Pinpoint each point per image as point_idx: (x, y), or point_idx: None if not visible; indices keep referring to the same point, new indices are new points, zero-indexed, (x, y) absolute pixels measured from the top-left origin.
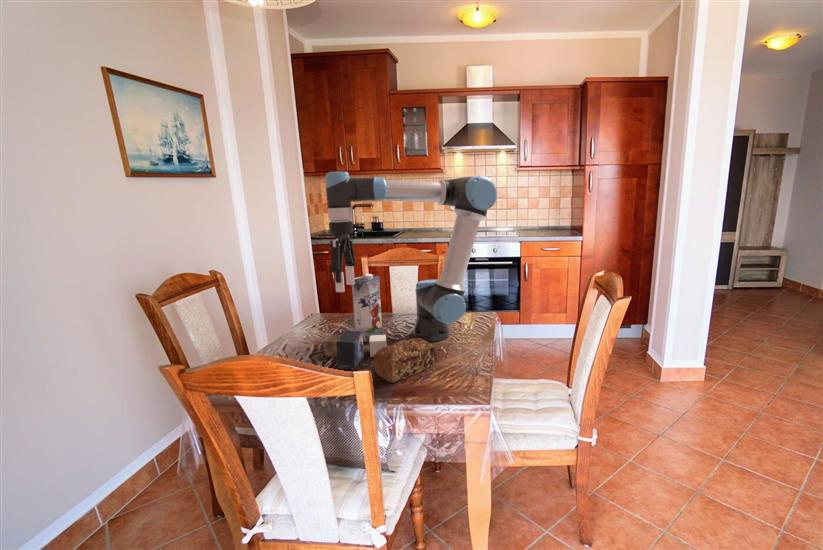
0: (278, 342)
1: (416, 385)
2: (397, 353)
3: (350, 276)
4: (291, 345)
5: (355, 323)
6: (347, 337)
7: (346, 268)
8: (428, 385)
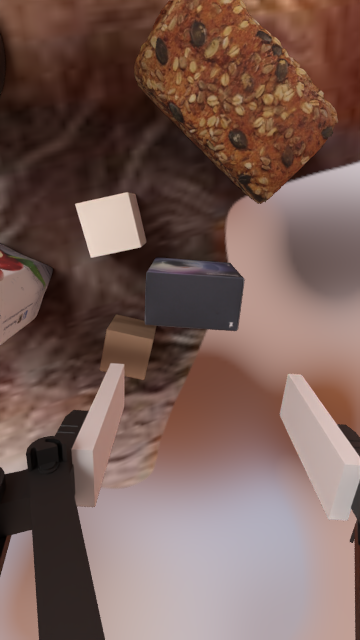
0: None
1: (320, 62)
2: (316, 101)
3: (113, 414)
4: None
5: (23, 326)
6: (208, 305)
7: (100, 484)
8: (323, 20)
